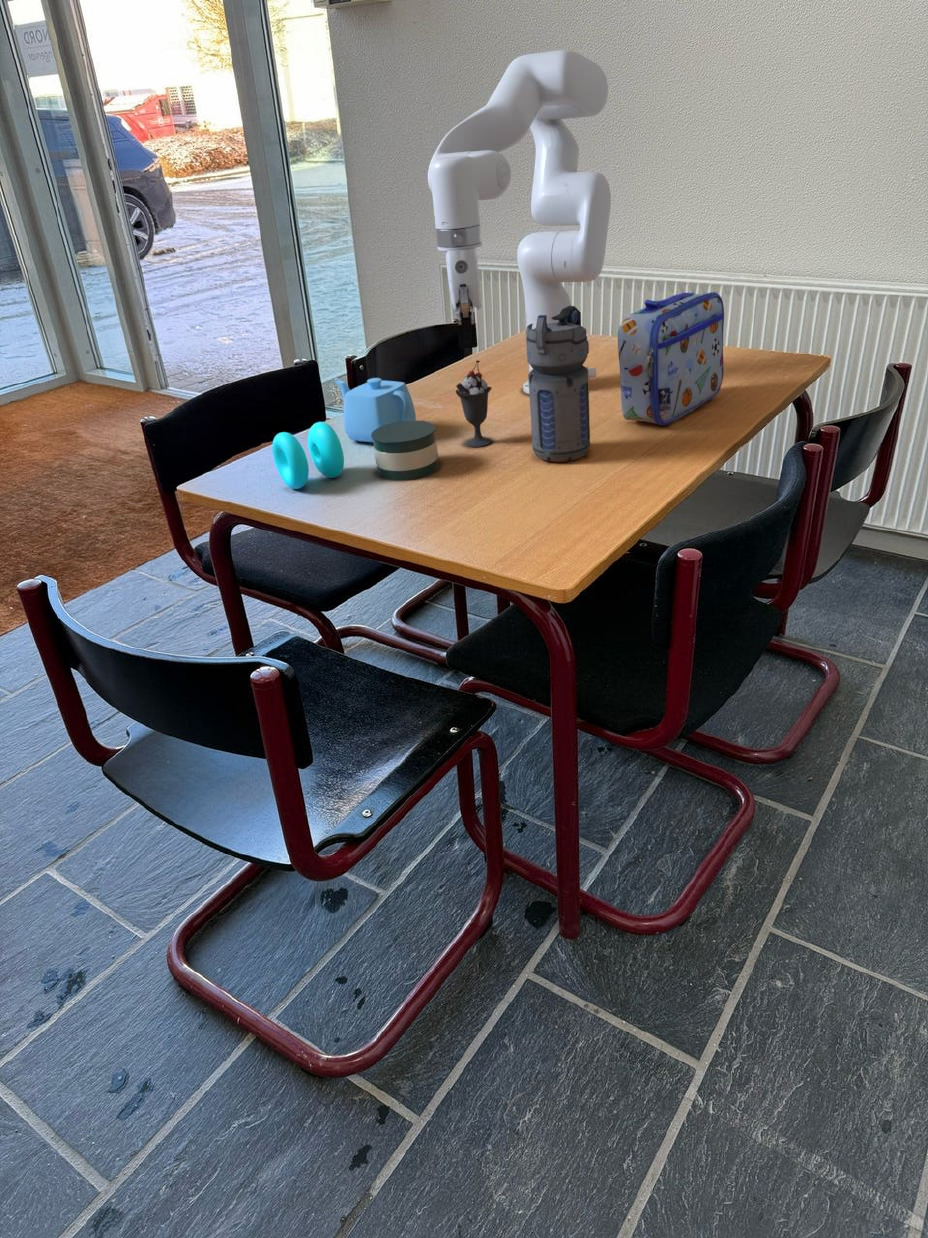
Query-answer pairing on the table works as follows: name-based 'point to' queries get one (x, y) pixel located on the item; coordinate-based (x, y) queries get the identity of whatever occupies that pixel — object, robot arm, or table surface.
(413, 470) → the tin
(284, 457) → the donuts
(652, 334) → the lunch box
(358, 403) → the teapot
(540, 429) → the beverage bottle
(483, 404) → the sundae
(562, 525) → the table surface
